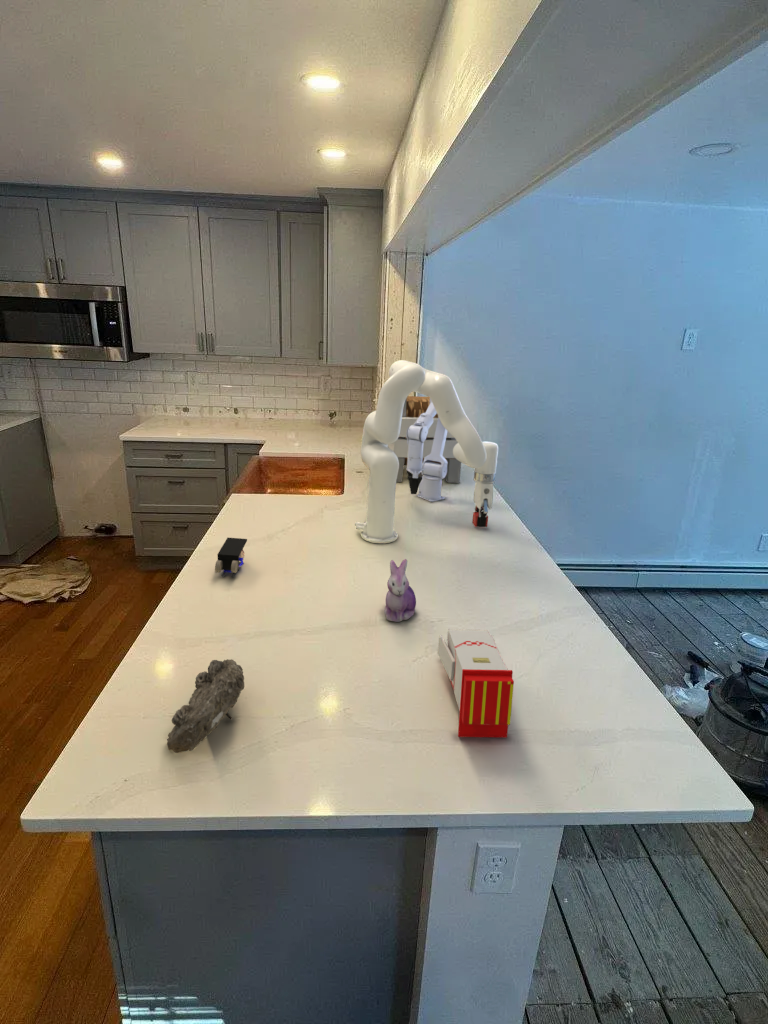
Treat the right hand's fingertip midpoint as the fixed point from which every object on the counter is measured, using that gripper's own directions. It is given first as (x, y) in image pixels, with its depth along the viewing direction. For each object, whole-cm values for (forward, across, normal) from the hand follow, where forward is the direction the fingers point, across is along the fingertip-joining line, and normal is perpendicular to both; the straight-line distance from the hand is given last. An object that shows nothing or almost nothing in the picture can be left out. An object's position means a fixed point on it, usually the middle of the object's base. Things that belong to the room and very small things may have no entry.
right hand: (413, 490), depth 221 cm
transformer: (+8, +54, -7) cm, 56 cm away
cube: (+7, -16, -24) cm, 30 cm away
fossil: (+8, -121, +46) cm, 130 cm away
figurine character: (+8, -58, +57) cm, 81 cm away
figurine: (+8, -81, +8) cm, 82 cm away
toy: (+8, -112, -5) cm, 112 cm away
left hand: (+7, -16, -24) cm, 30 cm away
